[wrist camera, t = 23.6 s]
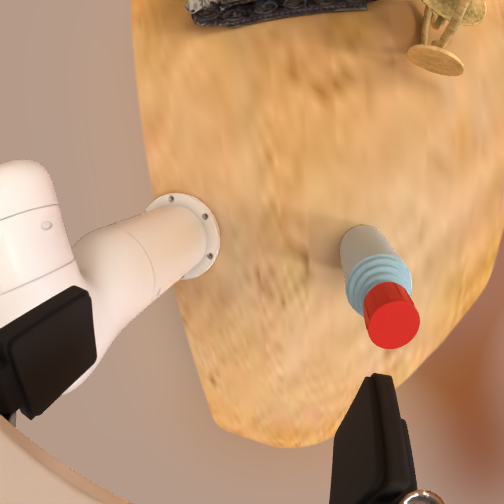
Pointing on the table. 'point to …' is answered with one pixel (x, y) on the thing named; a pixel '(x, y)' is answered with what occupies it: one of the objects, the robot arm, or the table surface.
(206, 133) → the table surface
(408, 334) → the cap
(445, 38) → the wall sconce
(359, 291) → the bottle
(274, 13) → the tank
